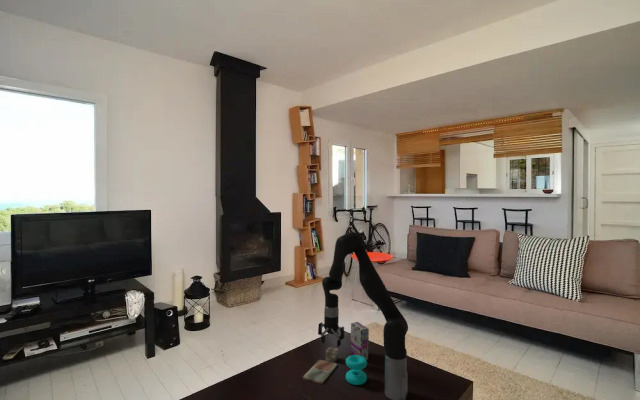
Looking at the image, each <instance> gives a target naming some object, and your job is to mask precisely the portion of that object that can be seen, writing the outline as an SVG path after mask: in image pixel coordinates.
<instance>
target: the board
mask: <svg viewBox="0 0 640 400" xmlns="http://www.w3.org/2000/svg"><path fill="white" fill-rule="evenodd" d="M337 366H338V363H336V362H330V361H326V360H323V359H318V360H317V361H316V362H315V363H314V364H313V366H312V367H311V368H310V369H309V370H308V371H307V372H306V373H305V374H304V375H303V376H302V379H303V380H305V381H310V382H313V383H317V384H321V385H323V384H324V383H325V381H326V380H327V379H328V378H329V376H330V375H331V374H332V373H333V371H334V370H335V369H336V368H337Z"/></svg>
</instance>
